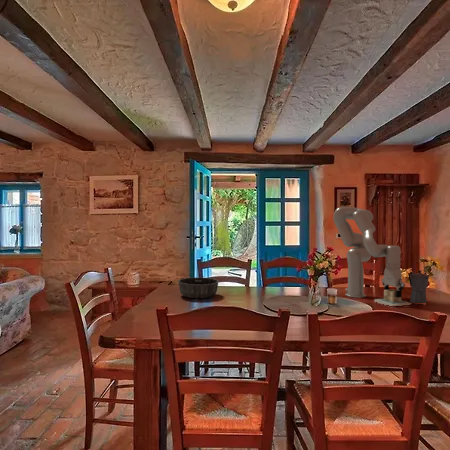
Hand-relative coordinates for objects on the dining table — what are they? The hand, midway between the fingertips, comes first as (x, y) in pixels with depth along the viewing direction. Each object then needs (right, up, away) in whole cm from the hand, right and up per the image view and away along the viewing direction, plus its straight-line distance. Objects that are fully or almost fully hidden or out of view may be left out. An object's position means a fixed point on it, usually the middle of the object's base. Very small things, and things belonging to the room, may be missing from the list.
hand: (392, 295), depth 198 cm
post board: (0, -5, 0) cm, 5 cm away
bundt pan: (-117, -4, +17) cm, 118 cm away
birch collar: (0, -3, 0) cm, 3 cm away
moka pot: (+16, -5, +2) cm, 17 cm away
